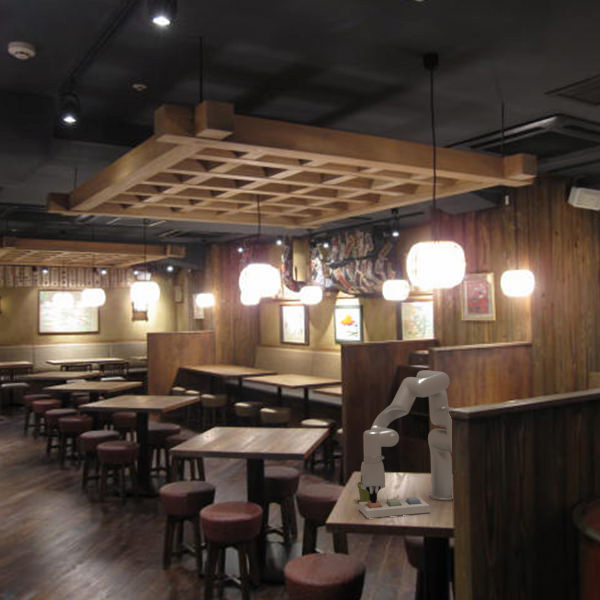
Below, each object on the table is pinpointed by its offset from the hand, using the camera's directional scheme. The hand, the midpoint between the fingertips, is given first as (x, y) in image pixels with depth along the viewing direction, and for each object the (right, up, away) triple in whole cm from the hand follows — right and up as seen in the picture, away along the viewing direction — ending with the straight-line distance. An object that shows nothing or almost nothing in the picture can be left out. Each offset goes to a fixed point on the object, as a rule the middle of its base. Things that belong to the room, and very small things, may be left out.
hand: (373, 501), depth 258 cm
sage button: (+9, -3, +2) cm, 10 cm away
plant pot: (-1, -6, +16) cm, 17 cm away
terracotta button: (0, -3, 0) cm, 3 cm away
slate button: (+18, -3, +4) cm, 19 cm away
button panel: (+9, -5, +2) cm, 11 cm away
